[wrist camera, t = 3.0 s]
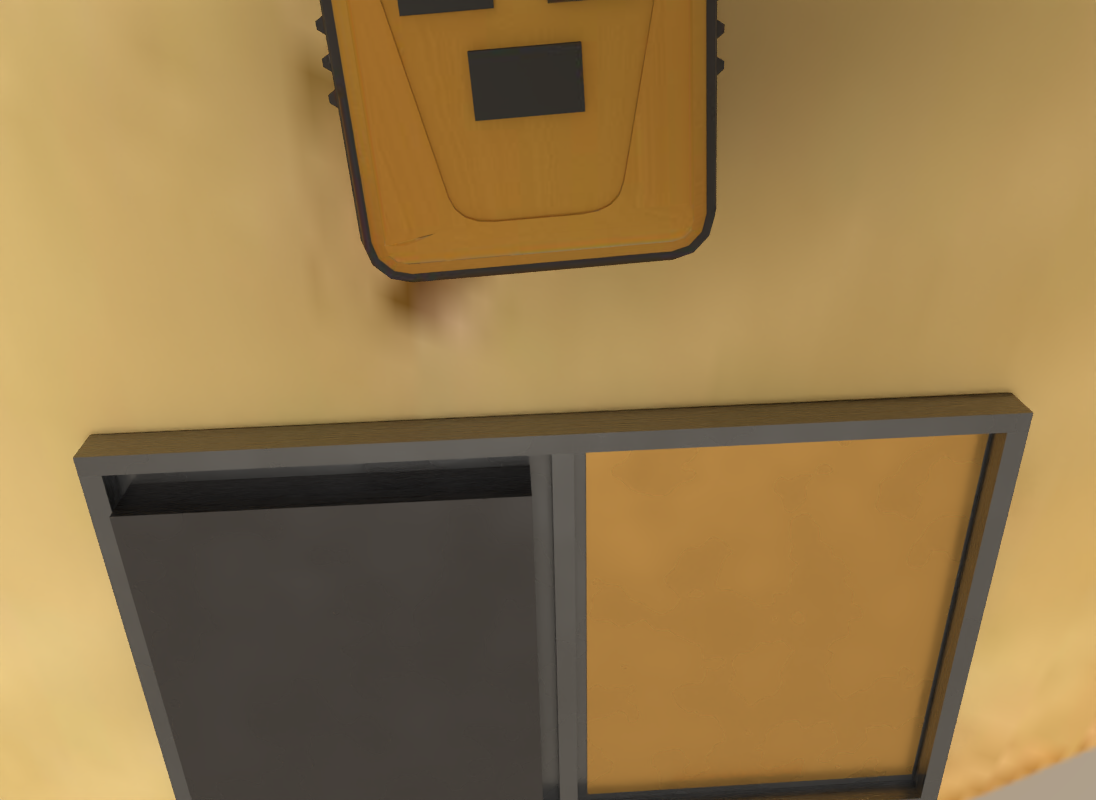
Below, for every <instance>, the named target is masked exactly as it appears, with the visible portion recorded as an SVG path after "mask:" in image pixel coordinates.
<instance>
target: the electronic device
mask: <svg viewBox="0 0 1096 800" xmlns="http://www.w3.org/2000/svg"><path fill="white" fill-rule="evenodd" d="M320 5H321V10H322V16H321V17H320V18H319V19H318V20H317V21H315V22H316V27H317V30H318V31H320V32H322V33H324V34H325V35H326V40H327V45H328V51H329V54H328V55H326V56H325V57H324V58H323V59H322V62H323V67H324V68H326V69H328V70H329V71H331V72H332V75H333V80H334V86H335V90H334V91H333V92H332V93H330V94H329V95H328V96H329V102H330V103H331V104H332V105H334V106H336V107H337V108H338V109H339V115H340V121H341V127H342V133H343V139H344V144H345V150H346V156H347V162H348V168H349V174H350V179H351V185H352V191H353V197H354V203H355V208H356V214H357V220H358V226H359V232H360V238H361V241H362V243H363V245H364V247H365V250H366V252H367V254H368V256H369V258H370V260H371V262H372V264H373V265H374V266H375V267H376V268H378V269H379V270H380V271H382V272H383V273H384V274H386V275H387V276H388V277H390V278H391V279H396V280H402V281H408V282H421V281H433V280H444V279H456V278H467V277H479V276H491V275H502V274H514V273H525V272H537V271H548V270H560V269H571V268H583V267H594V266H605V265H617V264H628V263H640V262H651V261H663V260H673V259H676V258H679V257H682V256H684V255H687V254H690V253H693V252H694V251H695V250H696V249H697V248H698V247H699V246H700V245H701V244H702V243H703V242H704V241H705V239H706V238H707V237H708V236H709V234H710V231H711V227H712V223H713V220H714V216H715V212H716V137H717V75H718V74H719V73H720V72H721V71H722V70H723V69H724V61H723V60H722V59H720V58H718V57H717V38H718V37H719V36H721V35H722V34H723V33H724V24H723V23H721V22H720V21H718V20H717V0H320Z"/></svg>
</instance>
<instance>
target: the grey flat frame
mask: <svg viewBox="0 0 1096 800" xmlns="http://www.w3.org/2000/svg"><path fill="white" fill-rule="evenodd" d="M1032 416H1033V412H1032V411H1031V410H1030V409H1029V408H1027V407H1026V406H1025V405H1024V404H1023V403H1022V402H1021V401H1020V400H1019V399H1018V398H1017V397H1016V396H1014V395H1013V394H1012V393H1000V394H978V395H956V396H934V397H912V398H891V399H869V400H847V401H825V402H803V403H782V404H760V405H738V406H716V407H694V408H673V409H651V410H629V411H607V412H585V413H564V414H542V415H520V416H498V417H476V418H455V419H433V420H411V421H389V422H367V423H346V424H324V425H302V426H280V427H258V428H237V429H215V430H193V431H171V432H150V433H128V434H106V435H90V436H89V437H88V439H87V440H86V441H85V443H84V444H83V445H82V446H81V448H80V449H79V450H78V452H77V453H76V454H75V456H74V457H73V460H74V463H75V466H76V469H77V473H78V476H79V479H80V483H81V486H82V489H83V493H84V496H85V499H86V503H87V506H88V509H89V513H90V516H91V519H92V523H93V526H94V529H95V532H96V536H97V539H98V542H99V546H100V549H101V552H102V556H103V559H104V562H105V566H106V569H107V572H108V576H109V579H110V582H111V585H112V589H113V592H114V595H115V599H116V602H117V605H118V609H119V612H120V615H121V619H122V622H123V625H124V629H125V632H126V635H127V638H128V642H129V645H130V648H131V652H132V655H133V658H134V662H135V665H136V668H137V672H138V675H139V678H140V682H141V685H142V688H143V692H144V695H145V698H146V701H147V705H148V708H149V711H150V715H151V718H152V721H153V725H154V728H155V731H156V735H157V738H158V741H159V745H160V748H161V751H162V754H163V758H164V761H165V764H166V768H167V771H168V774H169V778H170V781H171V784H172V788H173V791H174V794H175V798H176V800H937V797H938V793H939V789H940V785H941V781H942V777H943V773H944V769H945V765H946V761H947V757H948V753H949V749H950V745H951V741H952V737H953V733H954V729H955V725H956V721H957V717H958V713H959V709H960V705H961V701H962V697H963V693H964V689H965V685H966V681H967V677H968V673H969V669H970V665H971V661H972V657H973V653H974V649H975V645H976V641H977V637H978V633H979V628H980V624H981V620H982V616H983V612H984V608H985V604H986V600H987V596H988V592H989V588H990V584H991V580H992V576H993V572H994V568H995V564H996V560H997V556H998V552H999V548H1000V544H1001V540H1002V536H1003V532H1004V528H1005V524H1006V520H1007V516H1008V512H1009V508H1010V504H1011V500H1012V496H1013V492H1014V488H1015V484H1016V480H1017V476H1018V472H1019V468H1020V464H1021V460H1022V456H1023V452H1024V448H1025V444H1026V440H1027V436H1028V432H1029V428H1030V424H1031V420H1032Z"/></svg>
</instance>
